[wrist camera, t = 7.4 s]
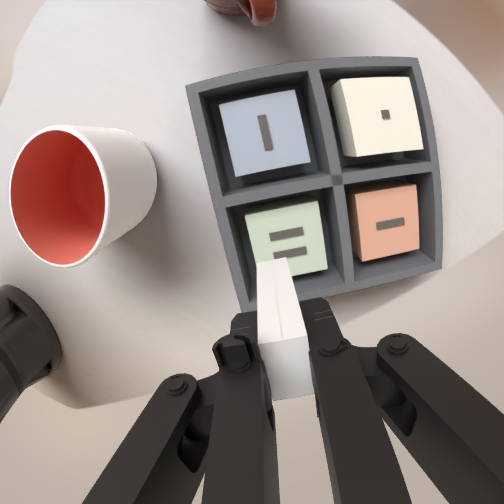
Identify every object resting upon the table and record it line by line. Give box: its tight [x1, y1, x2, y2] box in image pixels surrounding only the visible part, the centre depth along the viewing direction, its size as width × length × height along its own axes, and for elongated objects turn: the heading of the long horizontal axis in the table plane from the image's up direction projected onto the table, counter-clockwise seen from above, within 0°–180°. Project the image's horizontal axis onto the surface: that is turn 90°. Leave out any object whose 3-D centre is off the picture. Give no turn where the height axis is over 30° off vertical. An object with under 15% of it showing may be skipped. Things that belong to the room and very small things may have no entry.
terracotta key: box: [344, 180, 419, 262], centre depth 23 cm, size 6×6×4 cm
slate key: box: [219, 90, 311, 177], centre depth 21 cm, size 6×6×4 cm
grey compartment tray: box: [185, 56, 443, 313], centre depth 22 cm, size 18×18×5 cm
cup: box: [9, 126, 157, 268], centre depth 20 cm, size 10×10×10 cm
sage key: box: [245, 195, 328, 276], centre depth 24 cm, size 6×6×4 cm
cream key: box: [329, 77, 423, 157], centre depth 19 cm, size 6×6×4 cm
